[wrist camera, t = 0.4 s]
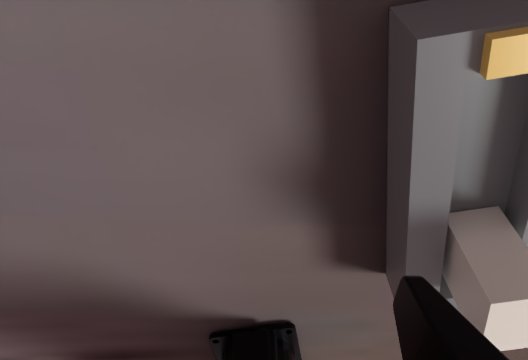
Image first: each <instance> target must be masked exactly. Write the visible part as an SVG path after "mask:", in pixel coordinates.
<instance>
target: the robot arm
mask: <svg viewBox="0 0 528 360" xmlns="http://www.w3.org/2000/svg"><path fill="white" fill-rule="evenodd" d="M393 310H394V315H395V321H396V326H397V331H398V337H399V342H400V348H401V353H402V358H403V360H509V359H508V358H507V357H506V356H505V355H504V354H503V353H502V352H501V351H500V350H499V349H498V348H497V347H496V346H495V345H493V344H492V343H491V342H490V341H489V340H488V339H487V338H486V337H485V336H484V335H483V334H482V333H481V332H480V331H479V330H478V329H477V328H476V327H475V326H474V325H473V324H472V323H471V322H470V321H469V320H468V319H466V318H465V317H464V316H463V315H462V314H461V313H460V312H459V311H458V310H457V309H456V308H455V307H454V306H453V305H452V304H451V303H450V302H449V301H448V300H447V299H446V298H445V297H444V296H443V295H442V294H440V293H439V292H438V291H437V290H436V289H435V288H434V287H433V286H432V285H431V284H430V283H429V282H428V281H427V280H426V279H425V278H424V277H422V276H419V275H405V276H403V277H402V278H401V279H400V282H399V285H398V288H397V291H396V294H395V297H394V301H393ZM209 343H210V346H211V348H212V351H213V353H214V356H215V358H216V360H302V359H301V354H300V349H299V343H298V338H297V333H296V328H295V325H294V324H291V323H286V324H279V325H271V326H264V327H256V328H248V329H241V330H233V331H226V332H218V333H213V334H211V335H210V336H209Z"/></svg>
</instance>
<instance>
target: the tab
mask: <svg viewBox="0 0 528 360" xmlns="http://www.w3.org/2000/svg"><path fill="white" fill-rule="evenodd" d="M442 274H443V277H444V279H445V281H446V283H447V285H448V287H449V290H450V292H451V294H452V296H453V298H454V300H455V303H456V305H457V307H458V309H459V311H460V313H461V314H462V315H463V316H464V317H465V318H466V319H468V320H469V321H470V322H471V323H472V324H473V325H474V326H475V327H476V328H477V329H478V330H479V331H480V332H481V333H482V334H483V335H484V336H485V337H486V338H487V339H488V340H489V341H490V342H491V343H492V344H493V345H495V346H496V347H497V348H498V349H499V350H500V351H505V350H513V349H521V348H528V248H527V246H526V245H525V243H524V242H523V240H522V239H521V238H520V236H519V235H518V233H517V232H516V230H515V229H514V228H513V226H512V225H511V223H510V222H509V220H508V219H507V217H506V216H505V215H504V213H503V212H502V210H501V209H500V207H499V206H494V207H487V208H480V209H473V210H466V211H459V212H453V213H449V220H448V228H447V236H446V244H445V252H444V260H443V268H442Z"/></svg>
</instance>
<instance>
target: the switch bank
mask: <svg viewBox="0 0 528 360" xmlns="http://www.w3.org/2000/svg"><path fill="white" fill-rule="evenodd" d="M494 206H499V207H500V209H501V210H502V212H503V213H504V215H505V216H506V217H507V219H508V220H509V222H510V223H511V225H512V226H513V228H514V229H515V230H516V232H517V233H518V235H519V236H520V238H521V239H522V240H523V242H524V243H525V245H526V246H527V248H528V0H427V1H421V2H416V3H410V4H404V5H398V6H392V7H389V67H388V152H387V237H386V276H387V279H388V282H389V285H390V288H391V291H392V294H393V297H395V294H396V291H397V288H398V285H399V282H400V279H401V278H402V277H403V276H405V275H419V276H422V277H424V278H425V279H426V280H427V281H428V282H429V283H430V284H431V285H432V286H433V287H434V288H435V289H436V290H437V291H438V292H439V293H440V294H442V295H443V296H444V297H445V298H446V299H447V300H448V301H449V302H450V303H451V304H452V305H453V306H454V307H455V308H456V309H457V310H458V311H459V309H458V307H457V305H456V303H455V300H454V298H453V296H452V294H451V292H450V290H449V287H448V285H447V283H446V281H445V279H444V277H443V274H442V268H443V260H444V252H445V244H446V236H447V228H448V220H449V213H453V212H459V211H466V210H473V209H480V208H487V207H494ZM459 312H460V311H459Z"/></svg>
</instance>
